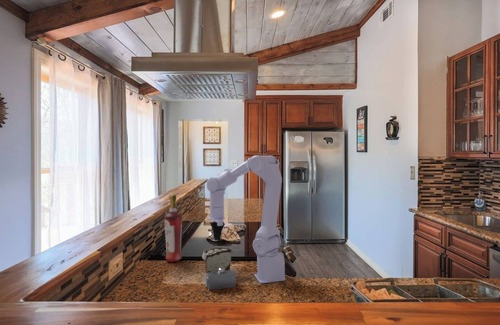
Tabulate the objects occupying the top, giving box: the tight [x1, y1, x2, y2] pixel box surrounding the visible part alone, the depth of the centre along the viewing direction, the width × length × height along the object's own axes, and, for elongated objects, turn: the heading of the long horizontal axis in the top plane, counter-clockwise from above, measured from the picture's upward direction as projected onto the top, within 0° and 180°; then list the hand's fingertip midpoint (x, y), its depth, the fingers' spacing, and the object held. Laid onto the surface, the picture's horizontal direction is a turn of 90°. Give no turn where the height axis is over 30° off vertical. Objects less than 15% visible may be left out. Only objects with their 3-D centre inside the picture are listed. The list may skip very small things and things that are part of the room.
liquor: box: [164, 194, 183, 263], centre depth 124 cm, size 7×7×28 cm
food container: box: [202, 245, 233, 273], centre depth 107 cm, size 12×6×10 cm, turn 132°
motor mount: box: [203, 268, 237, 291], centre depth 100 cm, size 10×7×6 cm
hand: (217, 239), depth 119 cm, fingers closed
